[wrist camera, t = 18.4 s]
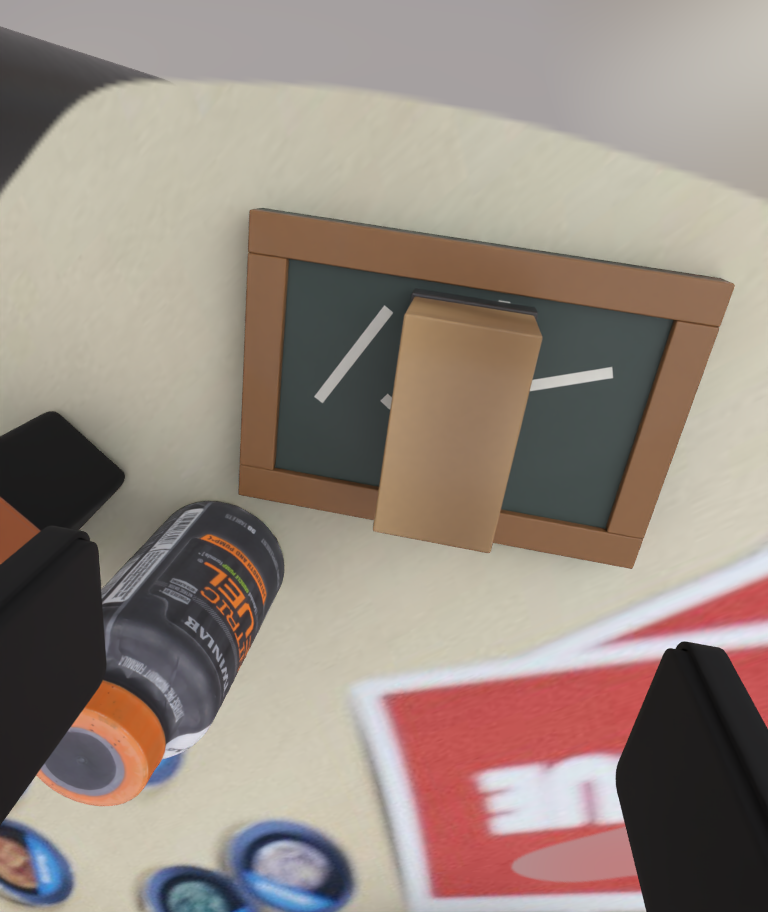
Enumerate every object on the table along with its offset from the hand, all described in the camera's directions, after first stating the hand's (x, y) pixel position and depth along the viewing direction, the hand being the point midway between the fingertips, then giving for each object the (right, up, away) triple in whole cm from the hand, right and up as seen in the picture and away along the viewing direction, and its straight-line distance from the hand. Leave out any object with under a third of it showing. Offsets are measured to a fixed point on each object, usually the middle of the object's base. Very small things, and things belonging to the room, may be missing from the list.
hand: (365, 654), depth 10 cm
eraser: (+3, +5, +13) cm, 14 cm away
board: (+3, +6, +14) cm, 15 cm away
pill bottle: (-7, -1, +18) cm, 20 cm away
